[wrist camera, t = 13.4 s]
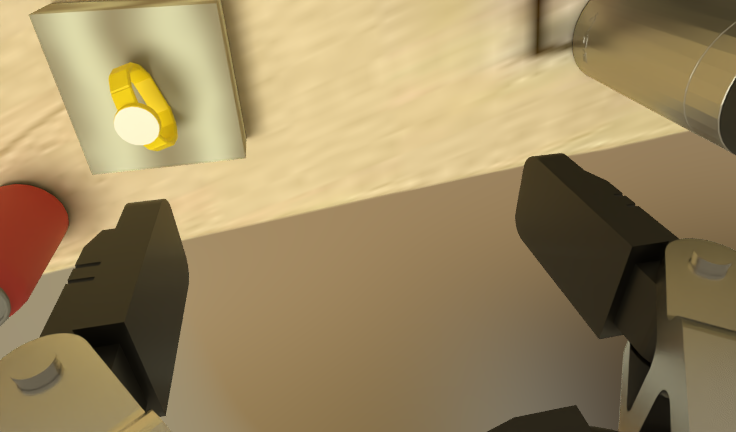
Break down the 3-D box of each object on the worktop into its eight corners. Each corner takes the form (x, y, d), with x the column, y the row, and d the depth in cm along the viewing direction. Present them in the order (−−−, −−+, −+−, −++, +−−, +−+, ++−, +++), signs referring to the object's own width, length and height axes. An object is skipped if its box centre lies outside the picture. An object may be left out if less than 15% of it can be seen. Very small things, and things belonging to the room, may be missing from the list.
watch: (189, 119, 37) (183, 157, 33) (157, 132, 38) (145, 172, 33) (144, 47, 34) (130, 79, 29) (108, 62, 34) (88, 96, 29)
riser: (219, -7, 36) (216, 3, 33) (246, 138, 43) (245, 158, 40) (50, 3, 35) (28, 14, 31) (105, 153, 41) (92, 174, 38)
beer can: (53, 252, 46) (-3, 349, 36) (-26, 221, 42) (-111, 318, 33) (83, 203, 44) (33, 292, 34) (3, 167, 40) (-79, 253, 31)
